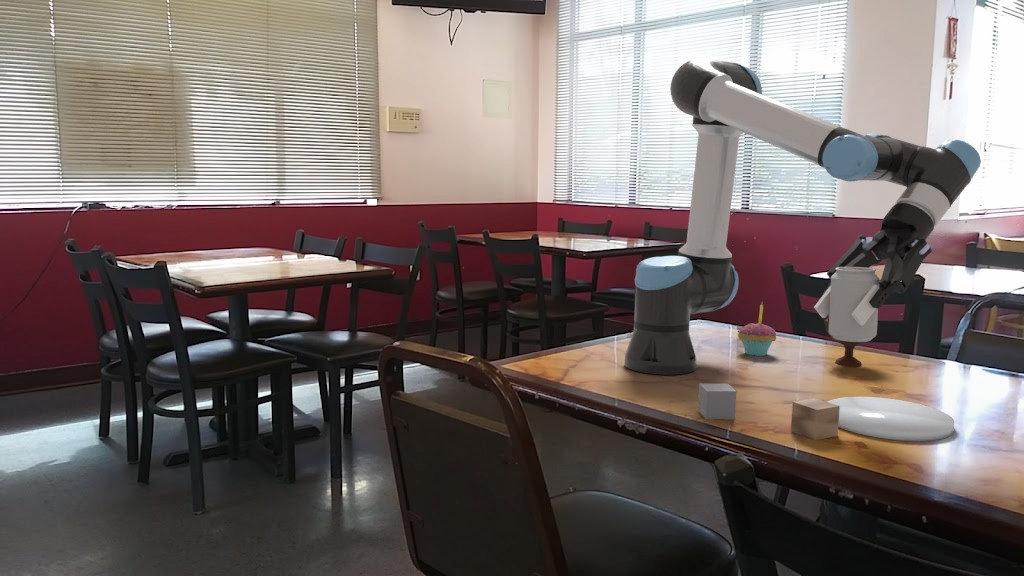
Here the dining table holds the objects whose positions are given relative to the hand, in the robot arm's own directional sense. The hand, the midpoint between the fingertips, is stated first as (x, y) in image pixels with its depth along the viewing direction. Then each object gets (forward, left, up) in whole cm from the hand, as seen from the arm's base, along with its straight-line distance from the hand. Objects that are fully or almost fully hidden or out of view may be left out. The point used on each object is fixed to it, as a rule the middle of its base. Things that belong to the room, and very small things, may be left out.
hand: (837, 316), depth 133 cm
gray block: (-8, -17, -18) cm, 26 cm away
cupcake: (-48, +18, -18) cm, 55 cm away
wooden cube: (+5, -7, -18) cm, 20 cm away
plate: (+3, +9, -18) cm, 20 cm away
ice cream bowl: (-34, +32, -18) cm, 50 cm away
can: (0, +3, -4) cm, 5 cm away
